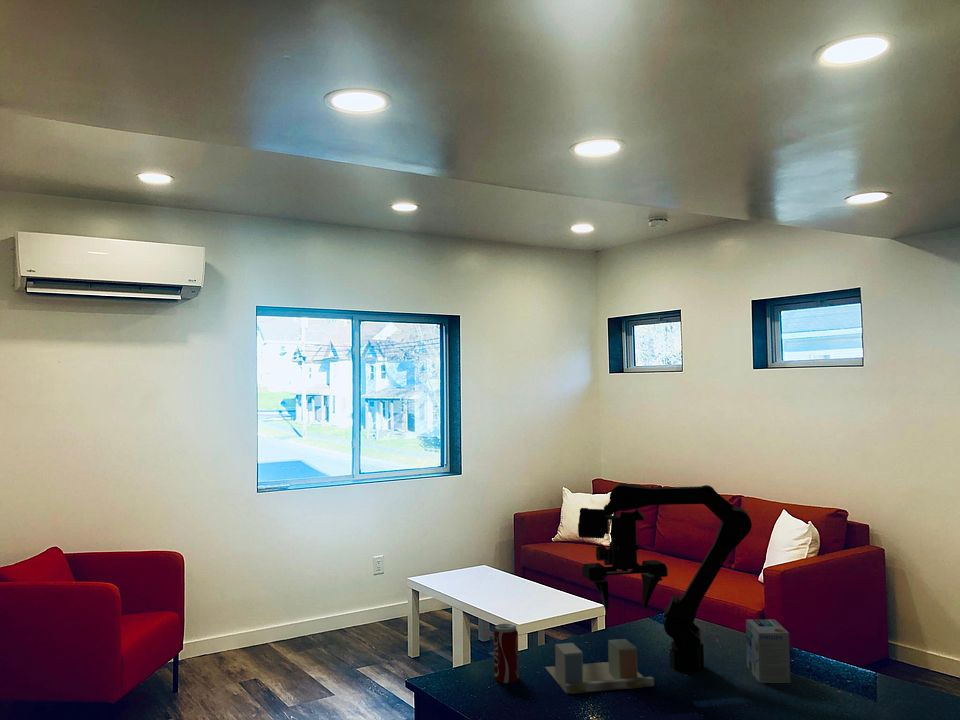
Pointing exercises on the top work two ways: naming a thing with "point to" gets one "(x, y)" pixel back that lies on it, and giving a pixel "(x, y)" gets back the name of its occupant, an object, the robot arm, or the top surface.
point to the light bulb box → (768, 651)
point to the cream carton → (568, 663)
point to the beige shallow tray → (601, 680)
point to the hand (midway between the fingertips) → (625, 608)
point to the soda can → (505, 653)
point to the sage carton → (622, 659)
